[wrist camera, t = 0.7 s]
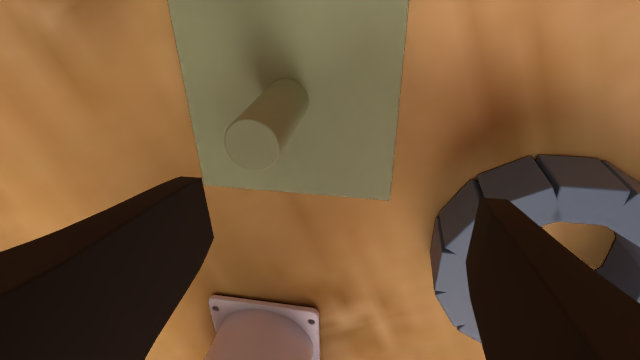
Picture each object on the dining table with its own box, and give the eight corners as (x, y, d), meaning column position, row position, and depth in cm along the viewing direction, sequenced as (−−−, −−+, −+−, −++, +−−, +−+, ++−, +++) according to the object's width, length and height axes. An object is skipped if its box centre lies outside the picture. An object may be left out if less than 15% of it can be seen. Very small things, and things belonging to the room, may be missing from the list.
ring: (608, 324, 22) (635, 372, 20) (421, 301, 24) (424, 342, 21) (698, 163, 17) (752, 199, 14) (447, 148, 18) (456, 178, 16)
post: (390, 185, 20) (387, 271, 15) (215, 172, 22) (152, 244, 16) (410, -28, 15) (418, -21, 10) (180, -25, 17) (72, -18, 11)
